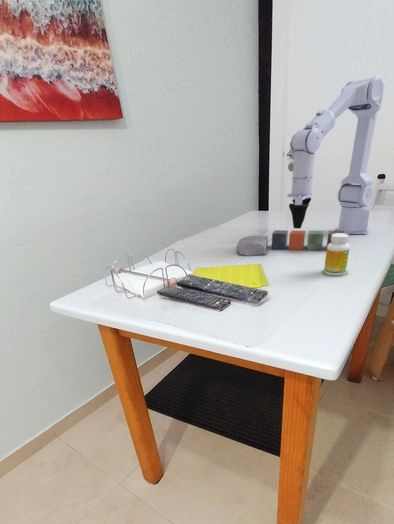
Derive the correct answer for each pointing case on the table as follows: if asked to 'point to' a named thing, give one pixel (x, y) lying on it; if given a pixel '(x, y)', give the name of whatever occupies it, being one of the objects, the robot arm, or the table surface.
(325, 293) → the table surface
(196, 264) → the table surface
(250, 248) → the stone block
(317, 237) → the block row
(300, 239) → the terracotta block
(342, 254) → the supplement bottle
